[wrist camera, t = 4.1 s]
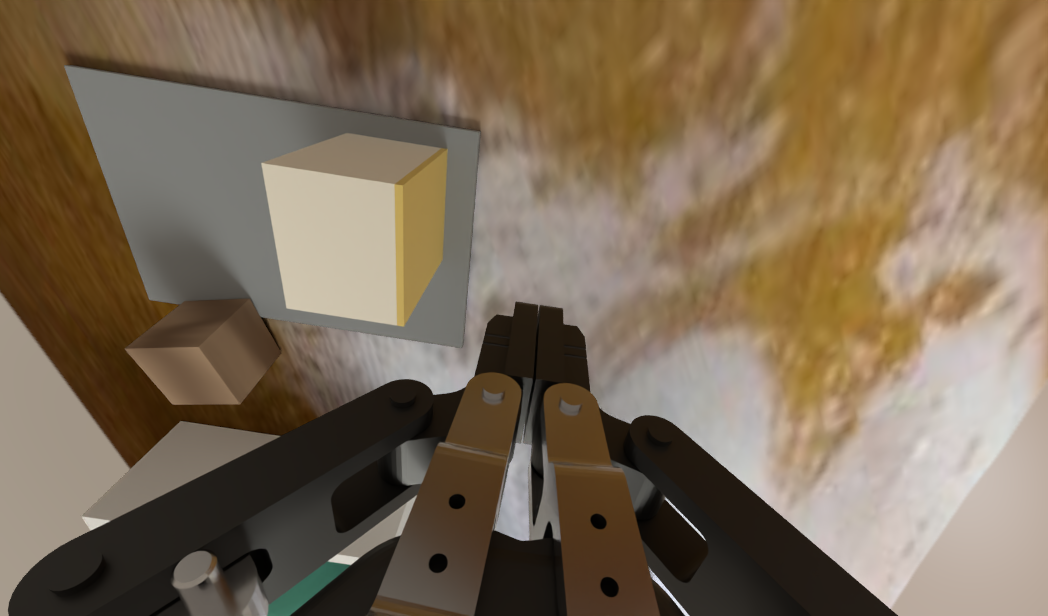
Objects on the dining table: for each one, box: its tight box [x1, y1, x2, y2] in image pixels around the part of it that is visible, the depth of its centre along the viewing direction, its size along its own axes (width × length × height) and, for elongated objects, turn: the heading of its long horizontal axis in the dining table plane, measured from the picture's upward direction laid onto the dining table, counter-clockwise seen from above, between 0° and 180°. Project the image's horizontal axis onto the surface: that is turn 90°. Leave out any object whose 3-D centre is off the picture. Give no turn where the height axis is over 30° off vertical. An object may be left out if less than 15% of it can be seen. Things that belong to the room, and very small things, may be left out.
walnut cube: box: [125, 299, 281, 405], centre depth 26 cm, size 4×4×4 cm
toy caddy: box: [82, 421, 417, 565], centre depth 34 cm, size 19×19×8 cm
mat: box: [64, 65, 481, 348], centre depth 24 cm, size 20×13×1 cm, turn 82°
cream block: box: [261, 133, 448, 327], centre depth 19 cm, size 5×6×7 cm
